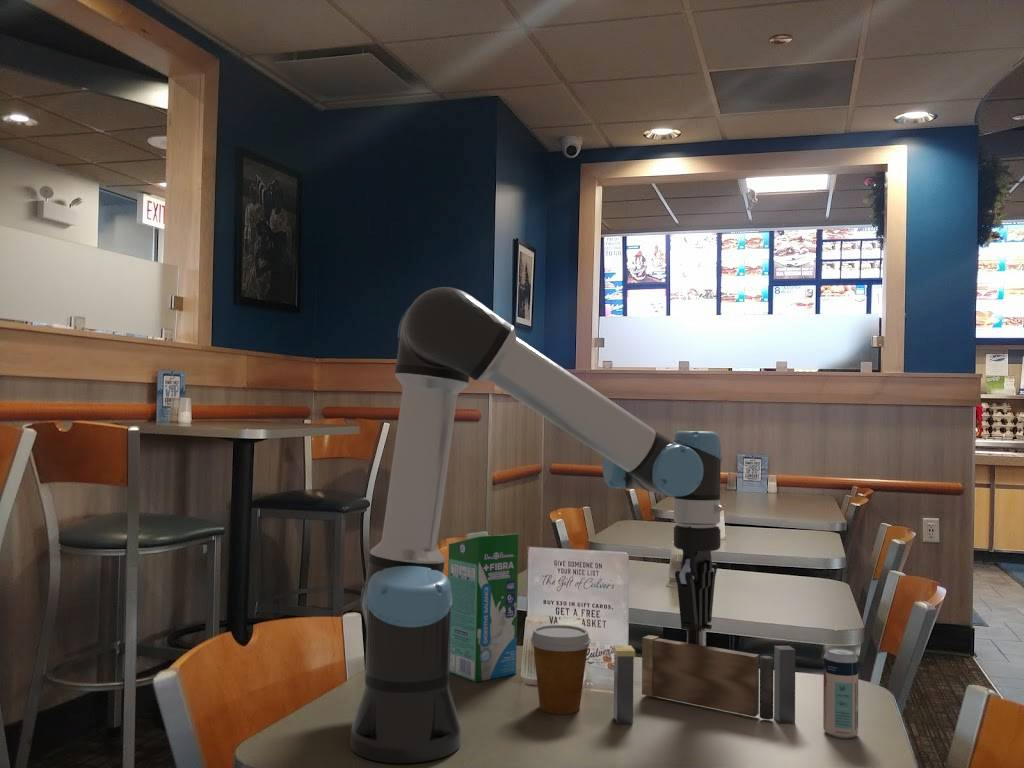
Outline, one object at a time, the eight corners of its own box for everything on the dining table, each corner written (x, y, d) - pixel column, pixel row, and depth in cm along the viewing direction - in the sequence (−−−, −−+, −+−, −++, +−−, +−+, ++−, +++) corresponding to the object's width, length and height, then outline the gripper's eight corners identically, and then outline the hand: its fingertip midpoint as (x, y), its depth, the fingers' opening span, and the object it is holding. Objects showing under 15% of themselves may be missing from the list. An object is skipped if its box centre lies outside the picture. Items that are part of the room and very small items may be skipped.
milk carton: (485, 663, 167) (487, 527, 168) (516, 674, 160) (519, 532, 161) (445, 671, 162) (448, 530, 163) (476, 682, 155) (479, 536, 156)
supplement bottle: (842, 727, 135) (842, 646, 135) (865, 738, 130) (865, 654, 131) (816, 730, 133) (816, 648, 134) (838, 741, 129) (839, 656, 129)
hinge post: (779, 723, 136) (779, 649, 137) (774, 718, 139) (774, 645, 139) (795, 723, 136) (795, 649, 137) (789, 718, 139) (789, 645, 139)
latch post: (615, 724, 134) (616, 651, 135) (612, 716, 138) (612, 645, 138) (634, 724, 134) (635, 651, 135) (630, 716, 138) (631, 645, 138)
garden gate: (775, 716, 138) (775, 655, 138) (770, 720, 136) (770, 658, 136) (648, 690, 150) (648, 635, 150) (641, 694, 148) (642, 637, 148)
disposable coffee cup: (586, 720, 136) (587, 639, 137) (524, 715, 138) (525, 635, 138) (593, 701, 145) (594, 626, 146) (535, 696, 147) (536, 622, 148)
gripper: (704, 530, 141) (703, 683, 140) (732, 523, 152) (732, 664, 151) (659, 526, 145) (658, 675, 144) (690, 519, 156) (689, 657, 155)
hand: (696, 669), depth 147 cm, fingers closed
